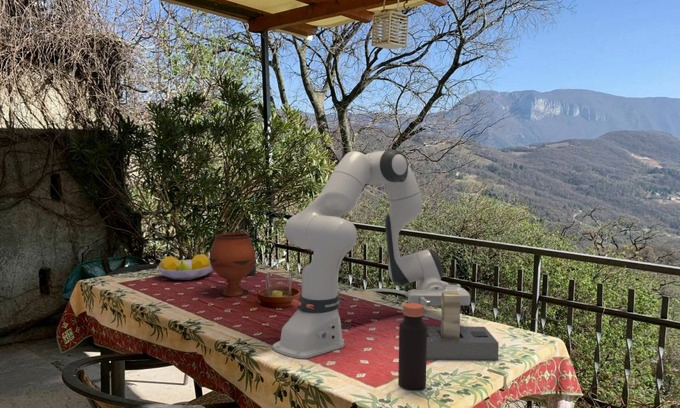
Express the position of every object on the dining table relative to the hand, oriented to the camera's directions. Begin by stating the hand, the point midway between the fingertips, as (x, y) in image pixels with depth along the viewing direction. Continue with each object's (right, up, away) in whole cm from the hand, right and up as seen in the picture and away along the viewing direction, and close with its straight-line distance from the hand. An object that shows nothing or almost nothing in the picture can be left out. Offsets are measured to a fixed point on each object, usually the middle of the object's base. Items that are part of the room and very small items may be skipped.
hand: (442, 304), depth 158 cm
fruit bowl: (-106, -4, +82) cm, 134 cm away
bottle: (-15, -13, -34) cm, 39 cm away
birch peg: (0, -10, -11) cm, 15 cm away
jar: (-79, -3, +88) cm, 118 cm away
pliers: (-34, -7, +50) cm, 61 cm away
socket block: (0, -11, -11) cm, 16 cm away
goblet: (-77, -6, +52) cm, 94 cm away
